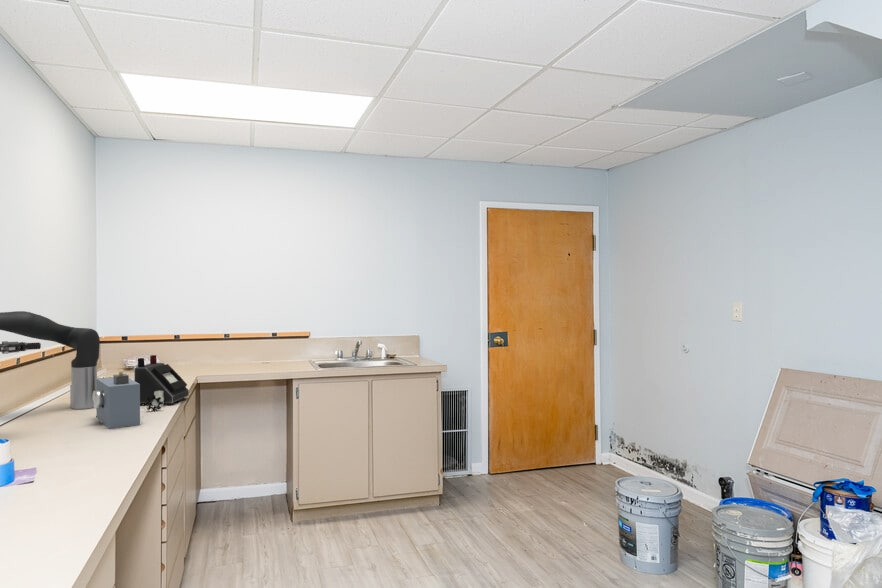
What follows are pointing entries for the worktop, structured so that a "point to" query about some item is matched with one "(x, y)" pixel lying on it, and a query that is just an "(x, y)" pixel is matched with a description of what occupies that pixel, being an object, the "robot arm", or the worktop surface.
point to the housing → (119, 403)
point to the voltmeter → (159, 381)
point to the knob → (98, 399)
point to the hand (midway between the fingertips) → (40, 345)
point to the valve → (156, 400)
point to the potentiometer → (121, 378)
